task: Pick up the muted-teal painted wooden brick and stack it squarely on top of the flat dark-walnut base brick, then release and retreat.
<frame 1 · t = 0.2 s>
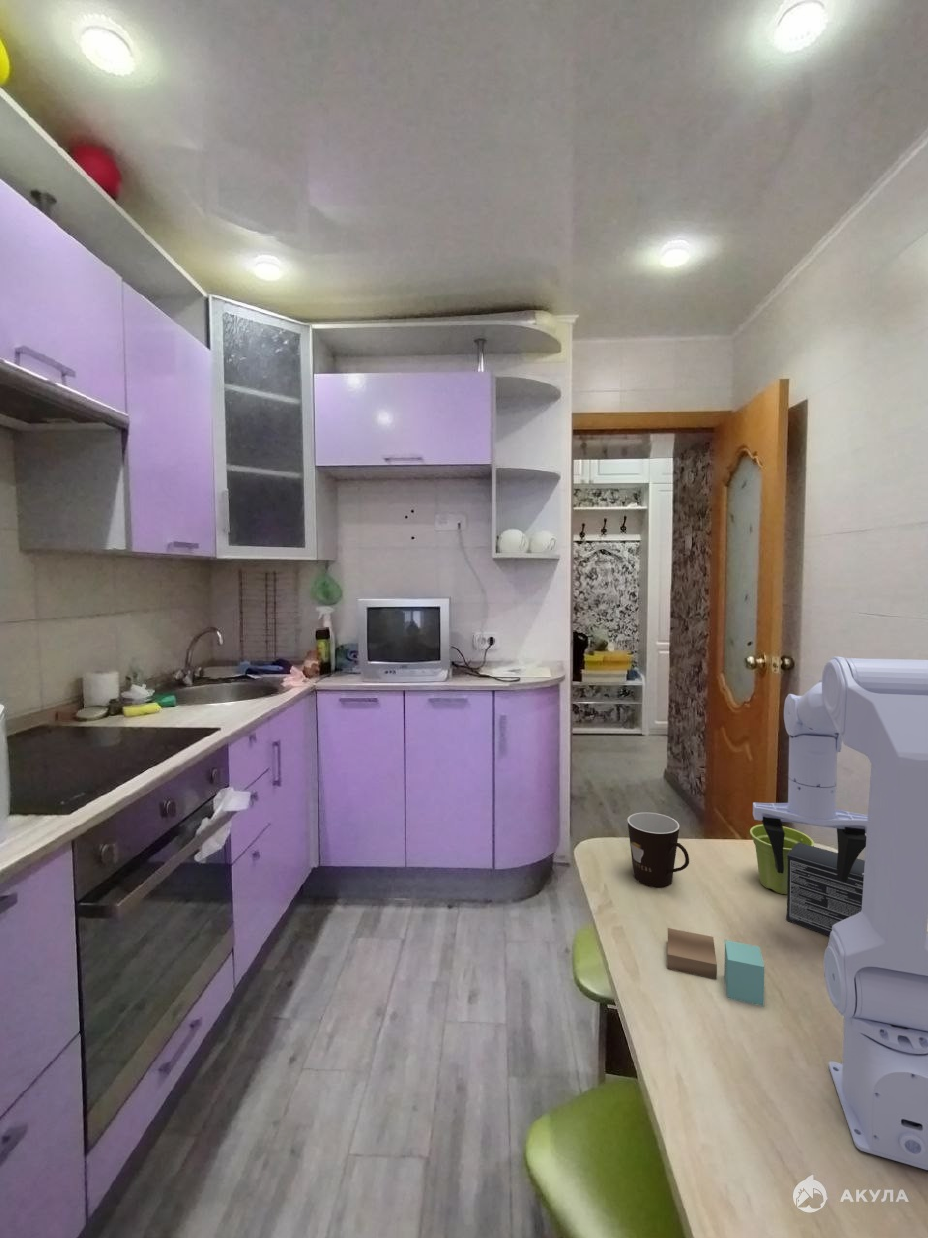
hand: (810, 874, 77), 10 cm above the table, fingers open, 7 cm apart
base brick: (690, 959, 75), on the table
coffee mug: (655, 883, 94), on the table
plant pot: (780, 886, 93), on the table
small box: (830, 927, 82), on the table
teal brick: (743, 991, 69), on the table
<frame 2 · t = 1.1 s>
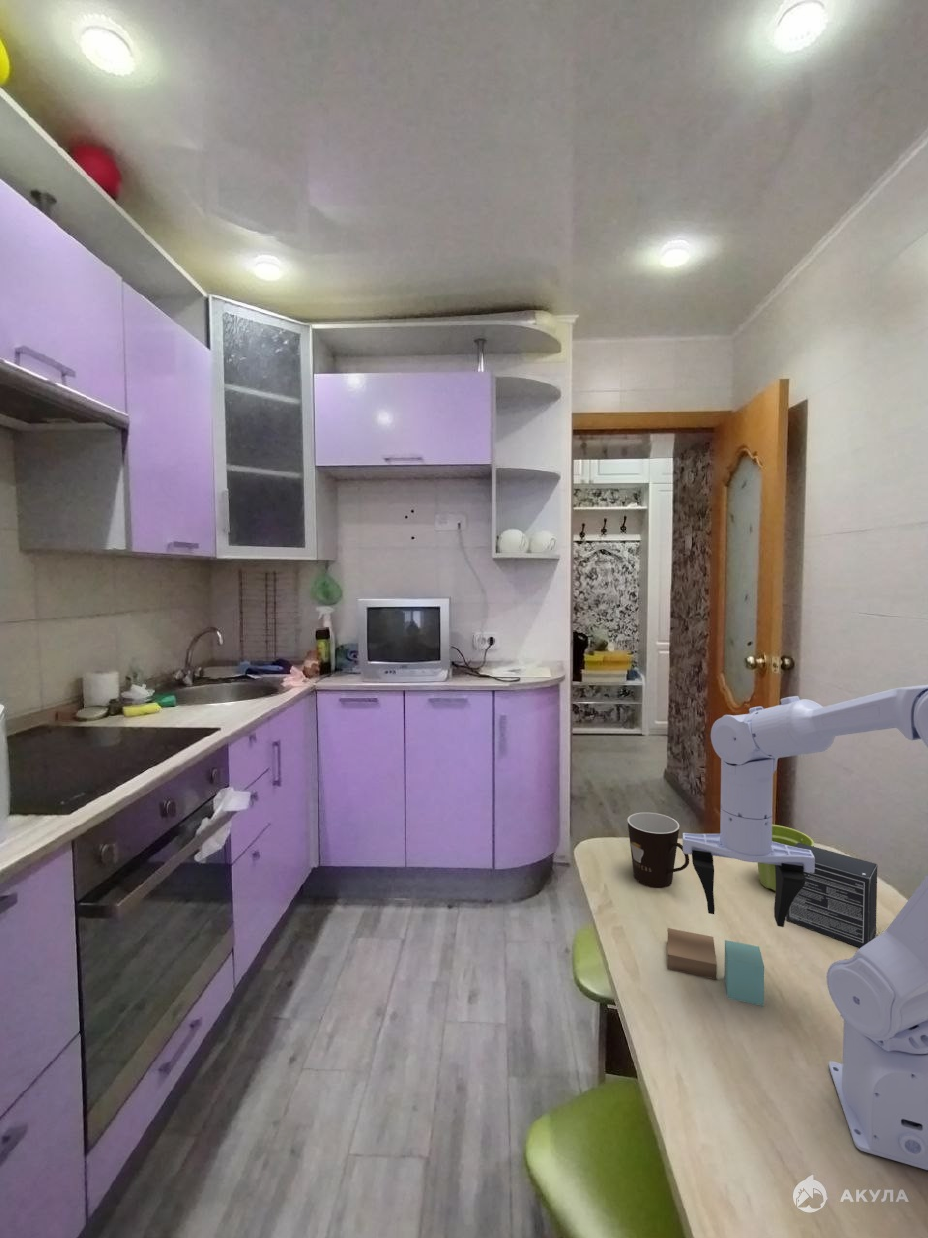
hand: (744, 915, 68), 10 cm above the table, fingers open, 7 cm apart
nothing on the table moved.
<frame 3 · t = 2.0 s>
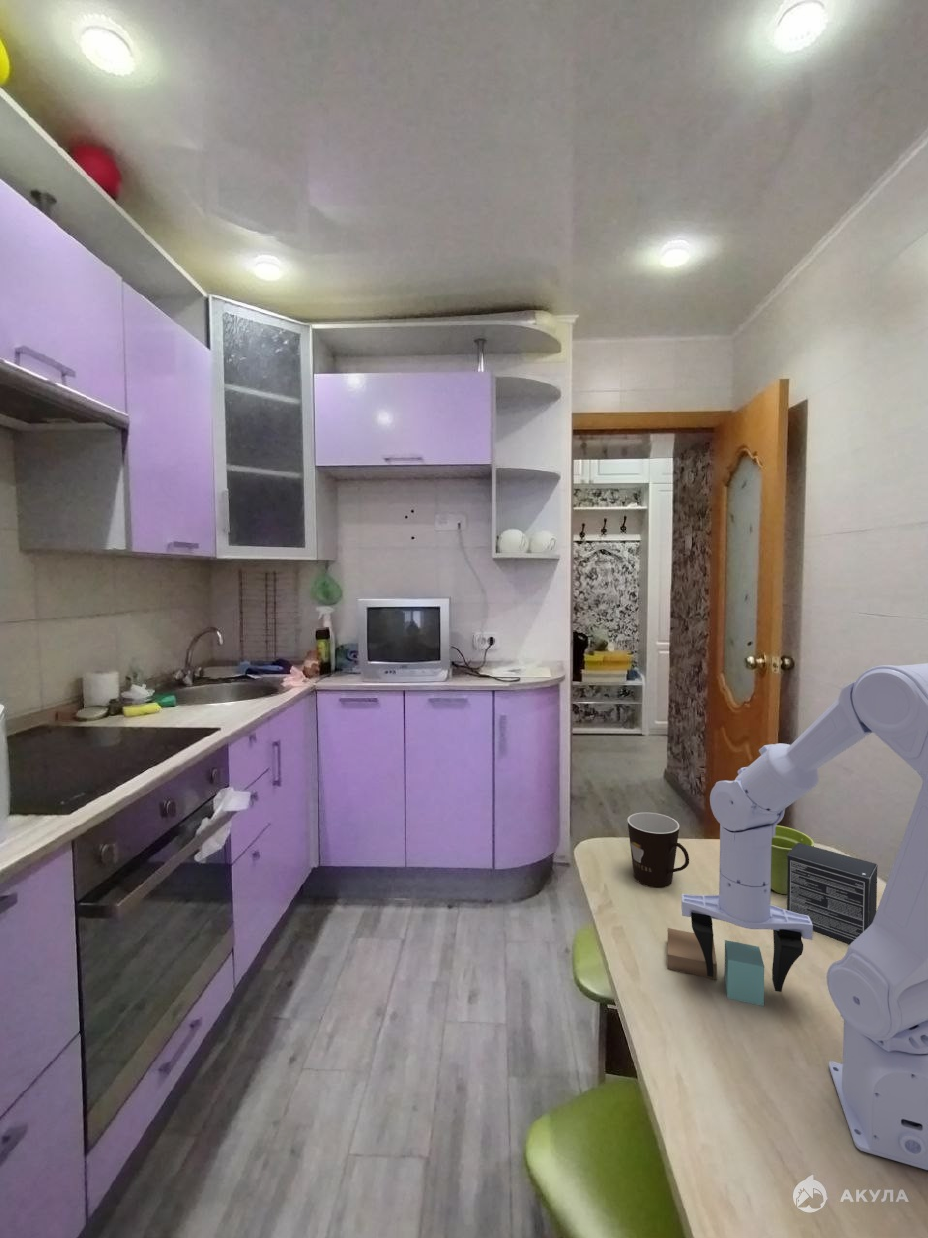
hand: (742, 978, 69), 2 cm above the table, fingers open, 7 cm apart
nothing on the table moved.
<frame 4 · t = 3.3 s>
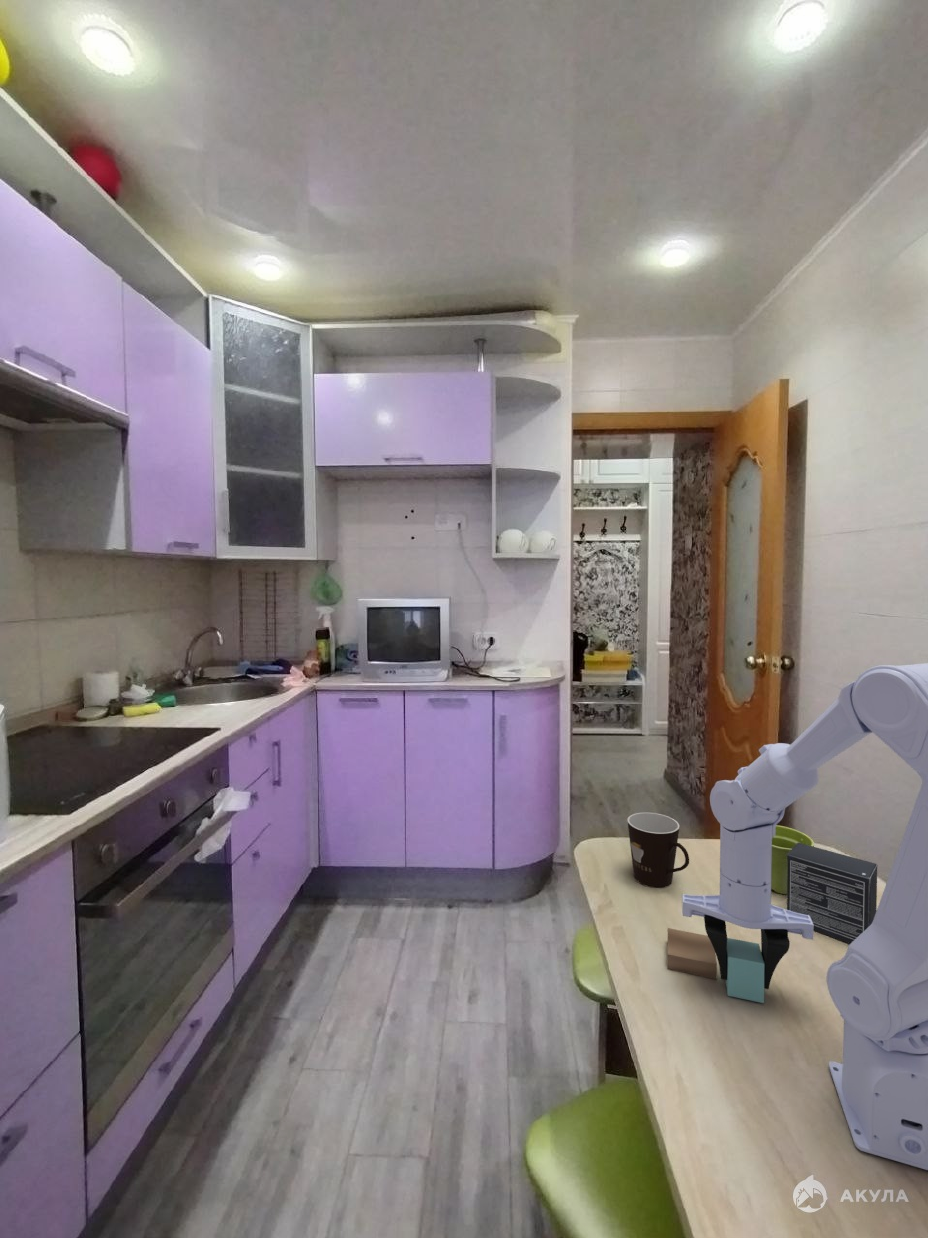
hand: (743, 979, 69), 2 cm above the table, fingers closed on teal brick, 4 cm apart
teal brick: (743, 988, 69), on the table, touching gripper
everything else where it was.
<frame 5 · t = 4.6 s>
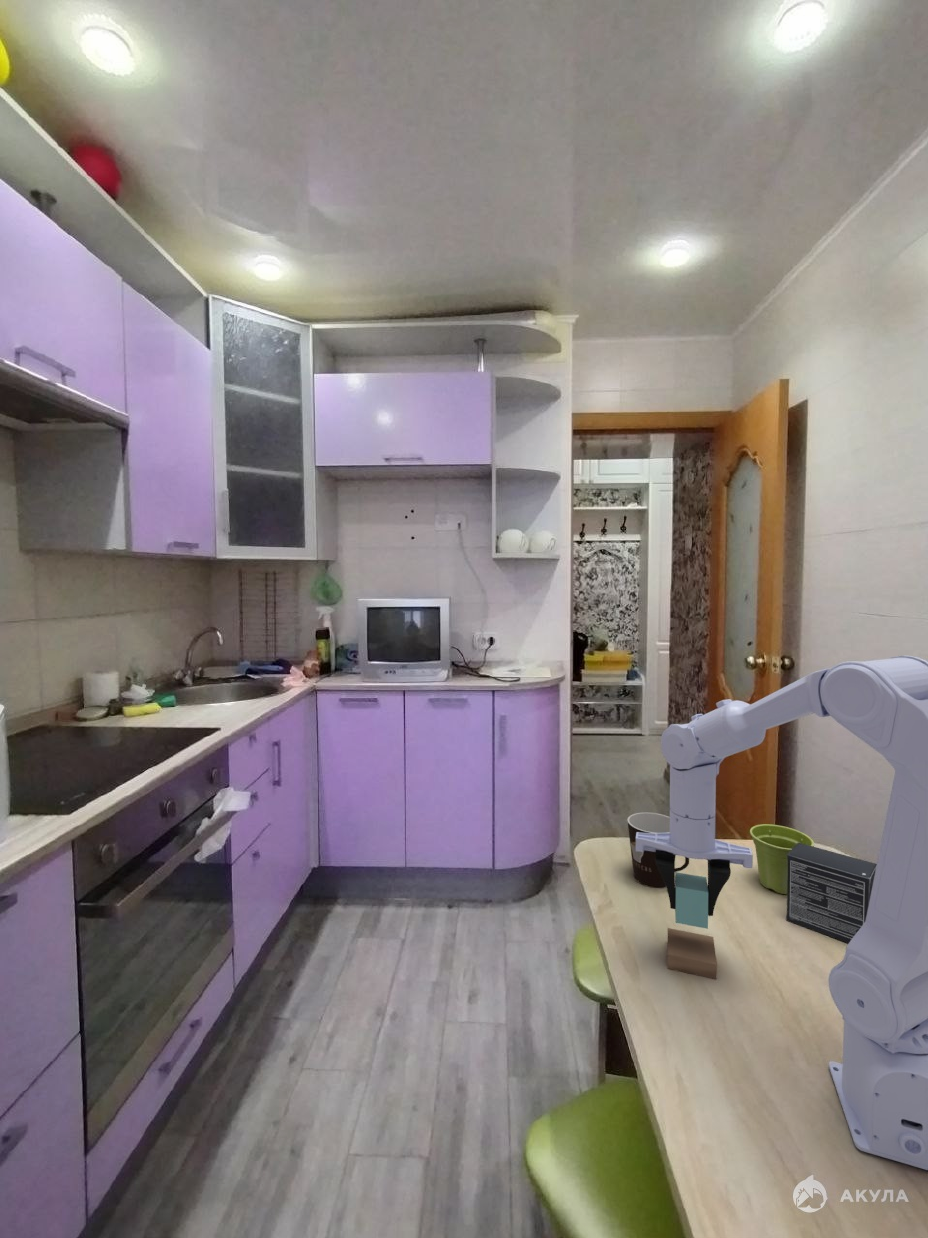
hand: (691, 908, 74), 7 cm above the table, fingers closed on teal brick, 4 cm apart
teal brick: (690, 917, 75), point 6 cm above the table, touching gripper
everything else where it was.
when the fingers open (4 cm above the table, at t = 5.9 s): teal brick stays where it is, resting on base brick.
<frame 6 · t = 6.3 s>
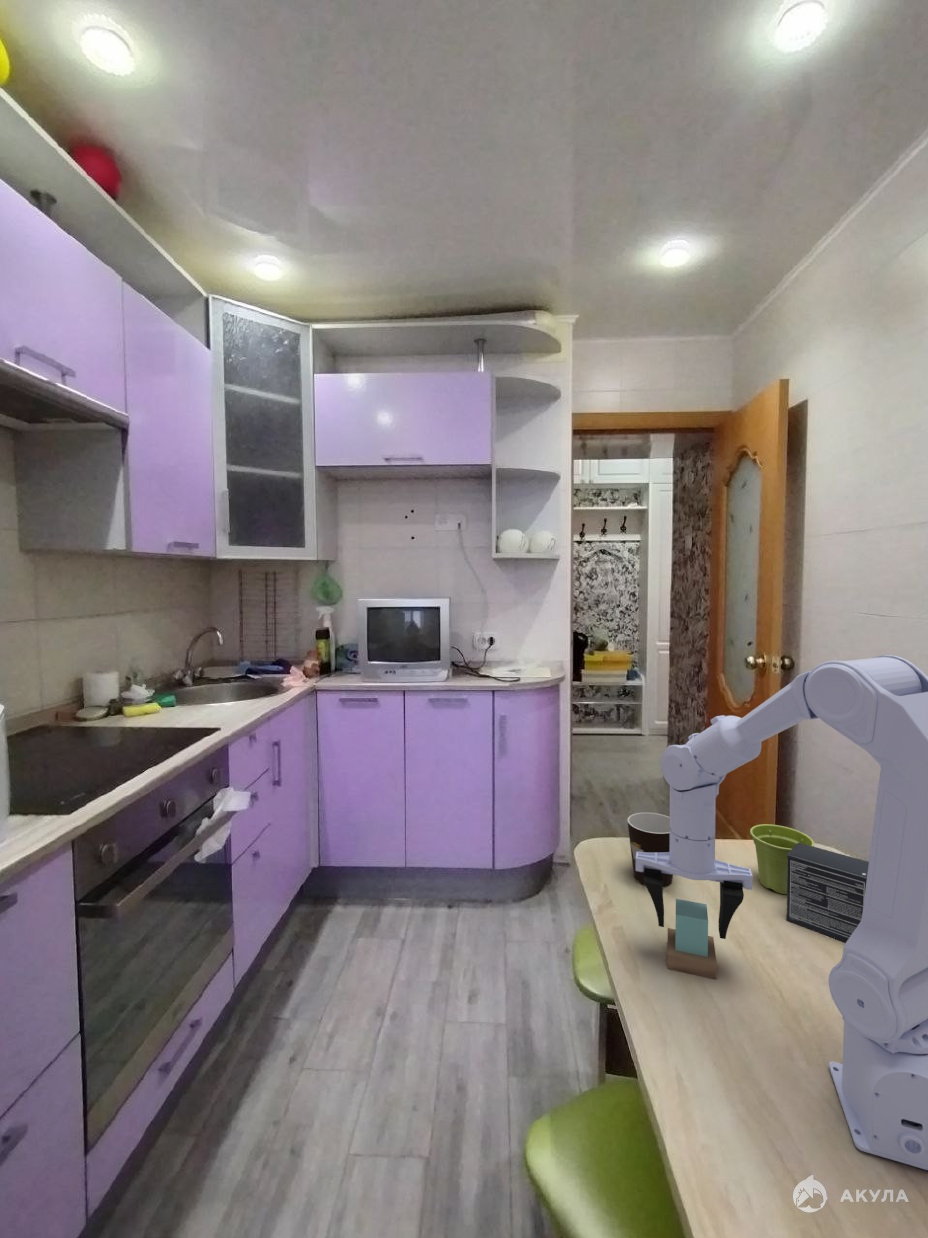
hand: (691, 928, 74), 4 cm above the table, fingers open, 7 cm apart
teal brick: (691, 944, 75), point 2 cm above the table, touching base brick
everything else where it was.
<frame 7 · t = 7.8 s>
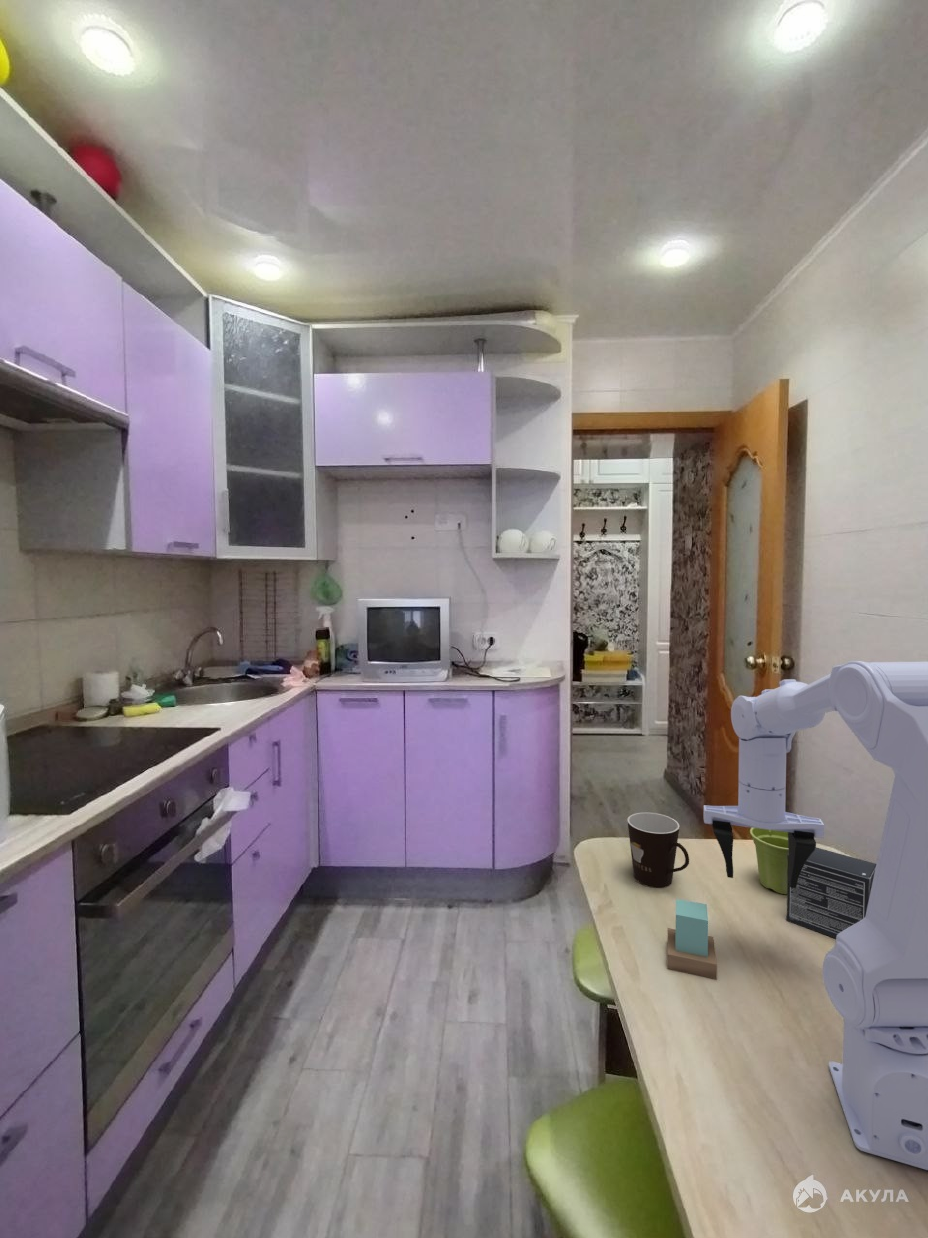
hand: (760, 879, 76), 10 cm above the table, fingers open, 7 cm apart
nothing on the table moved.
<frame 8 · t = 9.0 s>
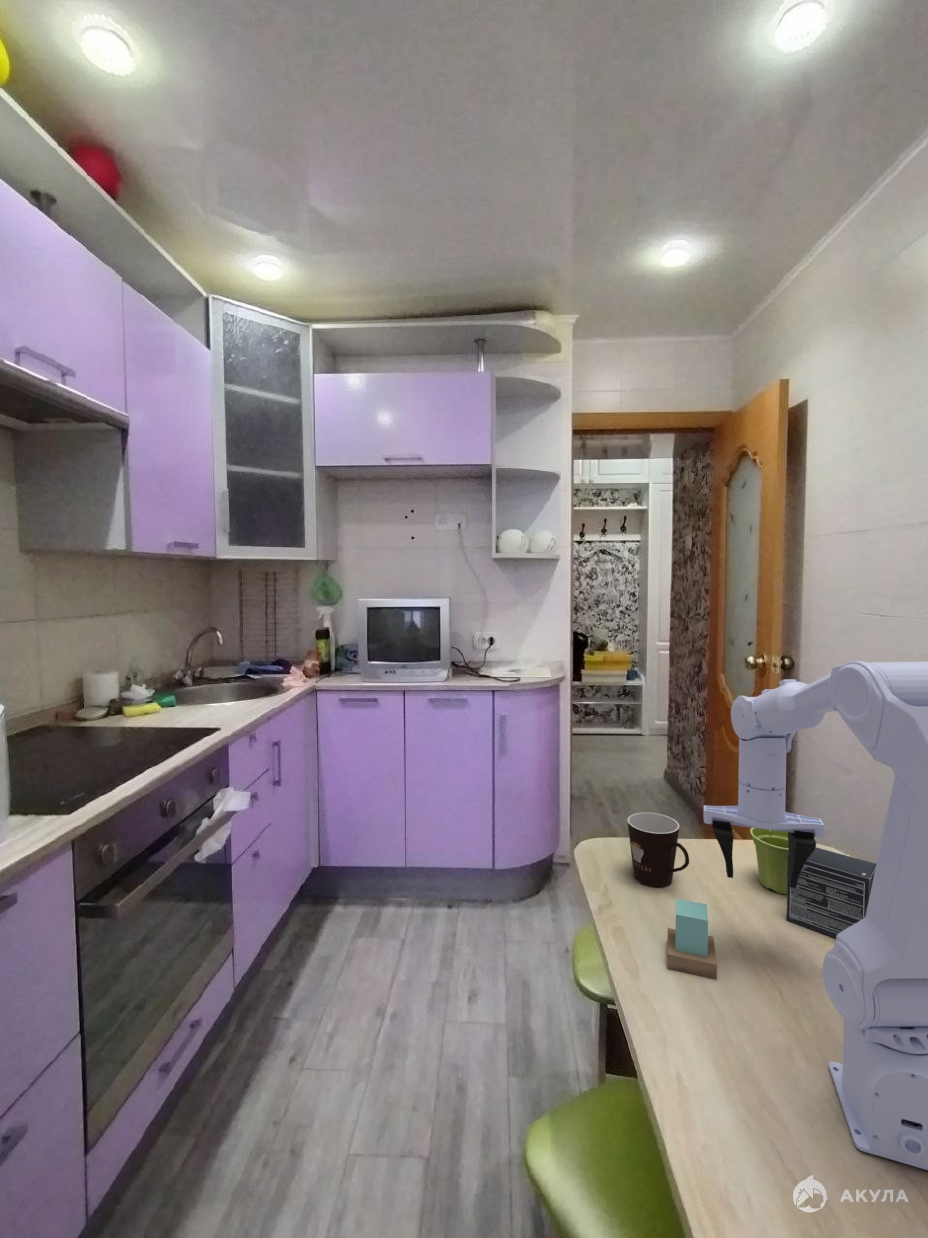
hand: (760, 879, 76), 10 cm above the table, fingers open, 7 cm apart
nothing on the table moved.
at the end: teal brick 0.2 cm off-centre on the base brick, point 2.0 cm above the base brick's base; teal brick tilted 0°; teal brick touching base brick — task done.
